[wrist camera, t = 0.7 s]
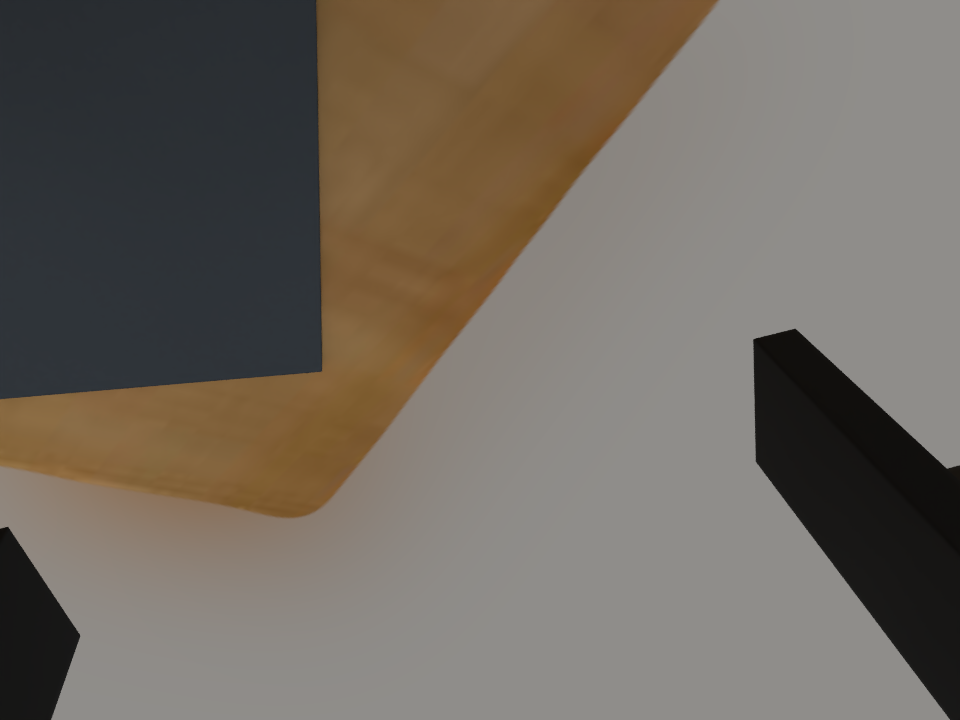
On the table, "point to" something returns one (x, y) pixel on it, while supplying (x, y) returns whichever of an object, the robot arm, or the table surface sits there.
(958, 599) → the robot arm
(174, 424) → the table surface
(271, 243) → the placemat
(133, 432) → the table surface
